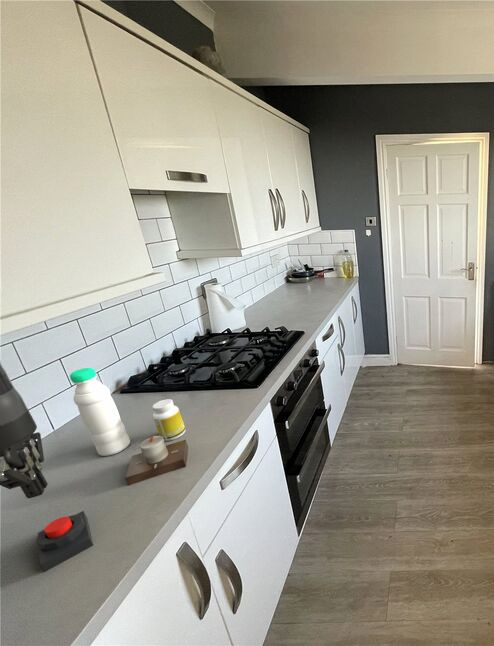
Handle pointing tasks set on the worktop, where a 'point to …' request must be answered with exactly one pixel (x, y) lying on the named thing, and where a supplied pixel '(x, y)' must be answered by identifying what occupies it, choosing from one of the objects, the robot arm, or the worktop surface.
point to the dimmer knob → (154, 449)
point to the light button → (58, 527)
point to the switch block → (65, 543)
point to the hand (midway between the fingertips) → (38, 491)
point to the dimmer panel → (145, 471)
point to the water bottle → (99, 413)
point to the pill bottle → (168, 420)
